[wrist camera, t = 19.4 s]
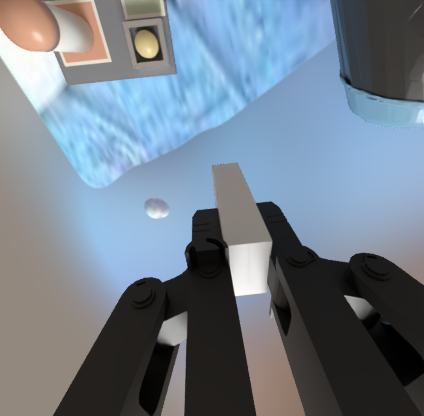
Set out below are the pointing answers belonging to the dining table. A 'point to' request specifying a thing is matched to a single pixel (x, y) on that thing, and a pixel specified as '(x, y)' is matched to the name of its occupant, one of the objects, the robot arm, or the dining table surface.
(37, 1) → the ball
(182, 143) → the dining table surface
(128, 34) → the button housing
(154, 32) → the grey flat square panel
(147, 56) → the button
